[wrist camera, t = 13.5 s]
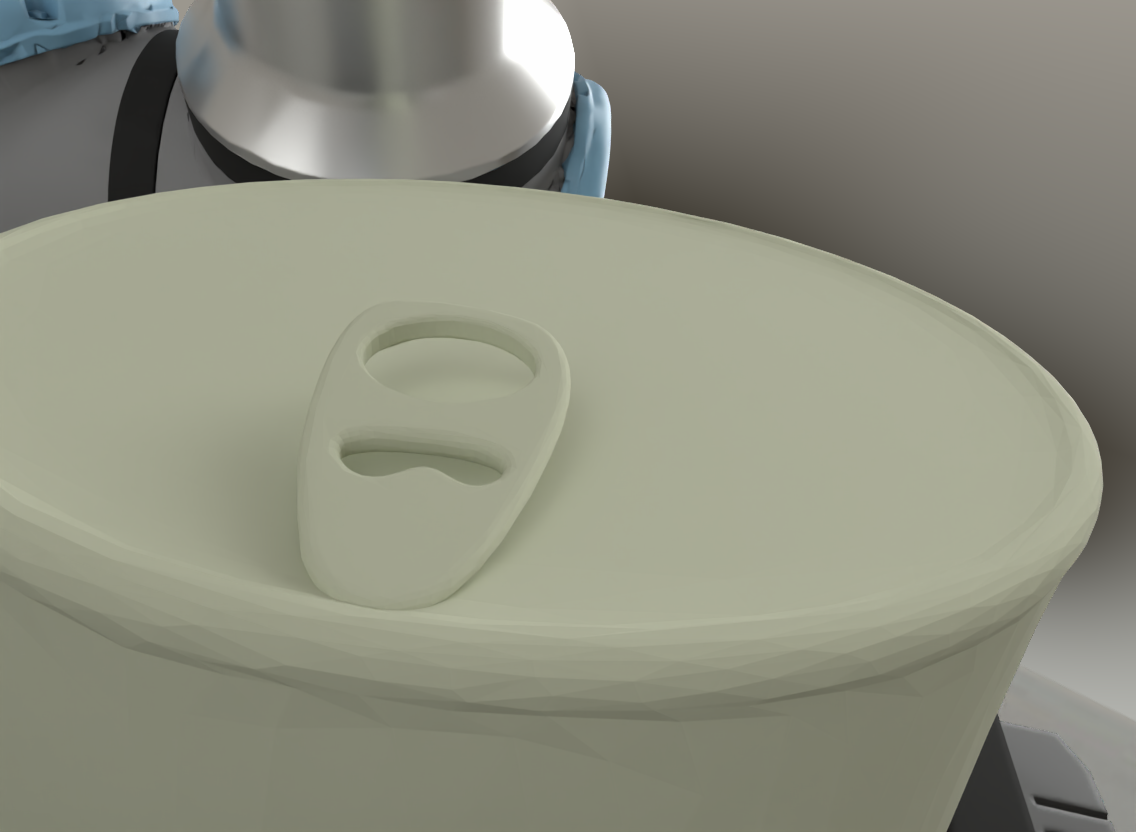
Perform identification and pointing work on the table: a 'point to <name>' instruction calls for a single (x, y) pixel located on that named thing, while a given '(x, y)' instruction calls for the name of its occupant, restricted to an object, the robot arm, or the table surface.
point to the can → (504, 519)
